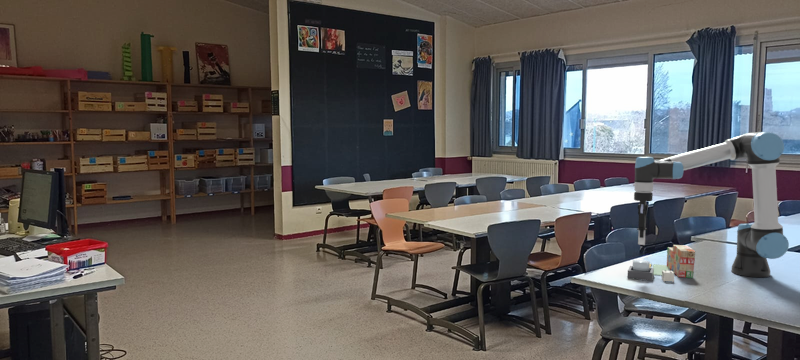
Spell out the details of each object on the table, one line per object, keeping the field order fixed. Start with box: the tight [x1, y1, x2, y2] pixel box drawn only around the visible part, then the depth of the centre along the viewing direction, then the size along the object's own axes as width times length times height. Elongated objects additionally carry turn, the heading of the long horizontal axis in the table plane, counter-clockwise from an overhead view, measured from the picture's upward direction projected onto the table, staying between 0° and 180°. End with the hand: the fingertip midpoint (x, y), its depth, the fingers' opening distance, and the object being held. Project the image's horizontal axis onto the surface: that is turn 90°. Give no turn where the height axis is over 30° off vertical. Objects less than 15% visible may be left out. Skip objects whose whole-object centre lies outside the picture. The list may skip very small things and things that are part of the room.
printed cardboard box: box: [666, 244, 696, 279], centre depth 261 cm, size 21×6×12 cm, turn 168°
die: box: [661, 270, 675, 283], centre depth 247 cm, size 4×4×4 cm
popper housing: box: [627, 265, 655, 282], centre depth 253 cm, size 10×10×4 cm
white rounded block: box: [632, 259, 651, 272], centre depth 253 cm, size 7×7×4 cm
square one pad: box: [652, 264, 670, 277], centre depth 266 cm, size 7×22×1 cm, turn 152°
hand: (641, 244), depth 252 cm, fingers closed
